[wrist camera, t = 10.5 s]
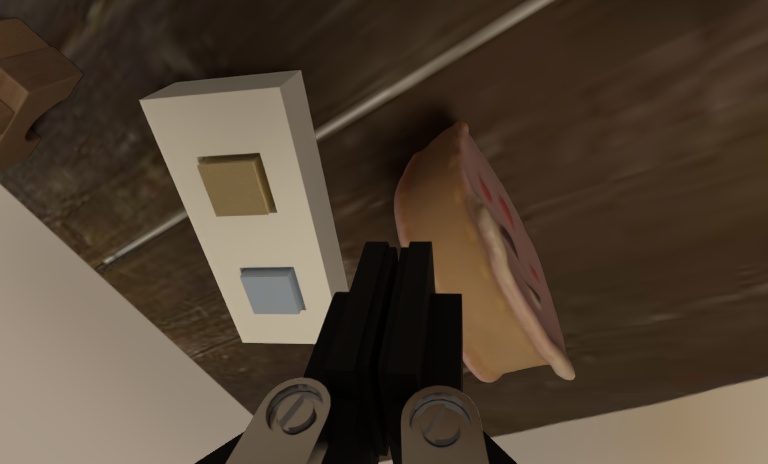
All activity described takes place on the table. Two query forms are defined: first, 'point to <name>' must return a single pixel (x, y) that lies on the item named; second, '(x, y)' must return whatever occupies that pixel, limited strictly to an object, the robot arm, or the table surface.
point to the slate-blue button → (272, 290)
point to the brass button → (237, 184)
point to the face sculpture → (480, 257)
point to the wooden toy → (28, 87)
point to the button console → (287, 183)
